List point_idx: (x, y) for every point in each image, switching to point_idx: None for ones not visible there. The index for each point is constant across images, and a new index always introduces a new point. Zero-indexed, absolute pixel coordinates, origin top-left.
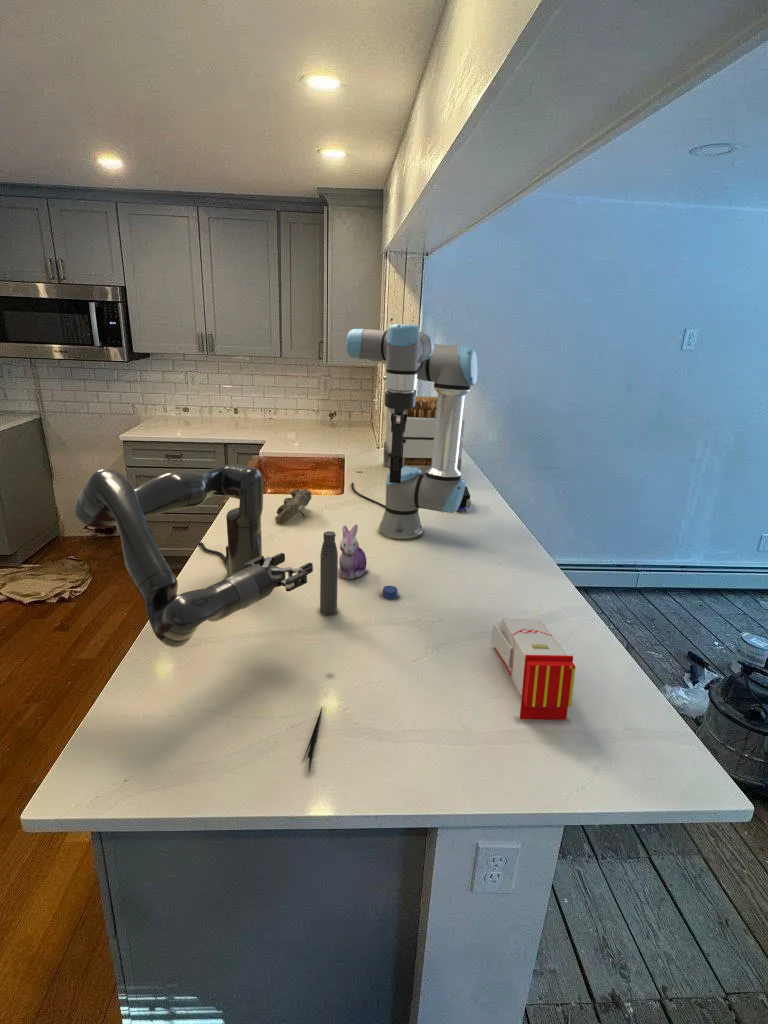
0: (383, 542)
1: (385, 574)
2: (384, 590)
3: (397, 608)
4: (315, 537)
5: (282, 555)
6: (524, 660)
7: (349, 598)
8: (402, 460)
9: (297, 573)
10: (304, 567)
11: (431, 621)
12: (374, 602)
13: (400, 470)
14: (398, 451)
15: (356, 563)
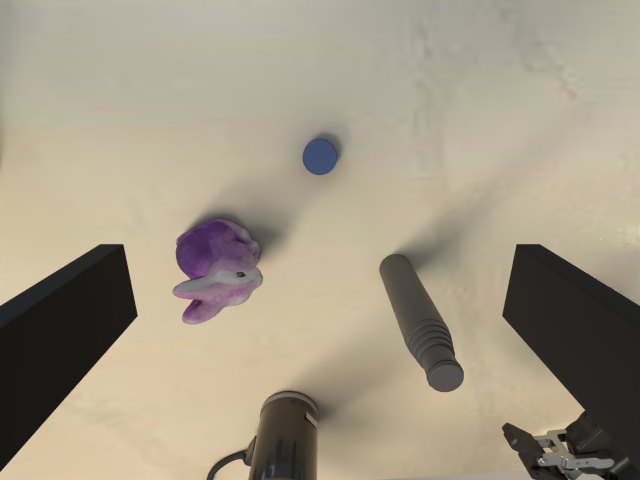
0: (29, 187)
1: (216, 171)
2: (328, 170)
3: (374, 136)
4: None
5: (519, 439)
6: None
7: (342, 237)
8: (80, 273)
9: None
10: None
11: (426, 55)
12: (353, 186)
13: (616, 297)
14: (25, 370)
15: (242, 246)
